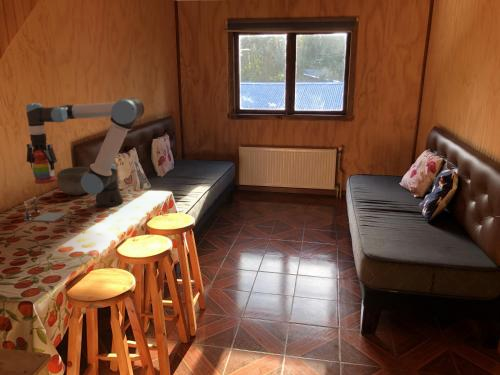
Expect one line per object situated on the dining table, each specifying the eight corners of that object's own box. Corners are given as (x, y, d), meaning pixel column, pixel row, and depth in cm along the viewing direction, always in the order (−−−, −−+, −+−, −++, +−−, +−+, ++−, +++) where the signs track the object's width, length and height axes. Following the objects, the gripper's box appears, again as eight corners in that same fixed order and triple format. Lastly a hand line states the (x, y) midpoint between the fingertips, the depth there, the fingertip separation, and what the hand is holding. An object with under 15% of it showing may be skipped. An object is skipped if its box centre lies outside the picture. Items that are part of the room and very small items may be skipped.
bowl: (88, 198, 253) (85, 173, 248) (52, 198, 252) (49, 174, 248) (99, 188, 273) (96, 165, 269) (67, 189, 272) (64, 166, 268)
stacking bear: (59, 179, 232) (55, 147, 227) (48, 184, 222) (43, 151, 217) (41, 179, 233) (36, 147, 228) (29, 183, 224) (24, 150, 219)
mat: (67, 214, 224) (67, 213, 224) (53, 222, 213) (53, 221, 213) (47, 213, 227) (46, 212, 226) (32, 220, 215) (32, 219, 215)
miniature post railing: (48, 211, 229) (45, 196, 227) (29, 221, 215) (26, 205, 212) (35, 210, 231) (33, 195, 228) (15, 220, 216) (12, 204, 214)
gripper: (61, 132, 222) (66, 174, 228) (24, 132, 226) (31, 172, 232) (51, 135, 215) (57, 177, 221) (14, 134, 219) (21, 176, 225)
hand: (43, 175), depth 227 cm, fingers closed on stacking bear, 9 cm apart
